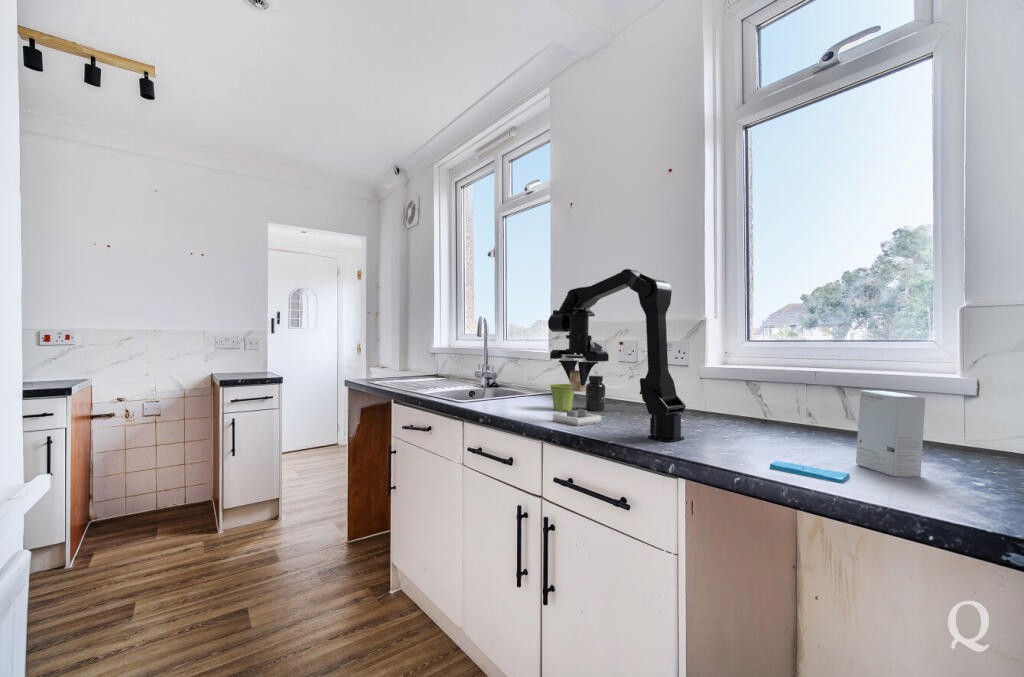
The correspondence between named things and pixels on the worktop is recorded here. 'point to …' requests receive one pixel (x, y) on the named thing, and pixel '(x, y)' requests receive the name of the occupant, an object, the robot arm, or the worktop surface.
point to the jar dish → (577, 417)
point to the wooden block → (576, 382)
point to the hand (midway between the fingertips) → (577, 384)
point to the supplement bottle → (595, 394)
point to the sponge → (810, 471)
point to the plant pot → (562, 397)
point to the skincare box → (890, 432)
